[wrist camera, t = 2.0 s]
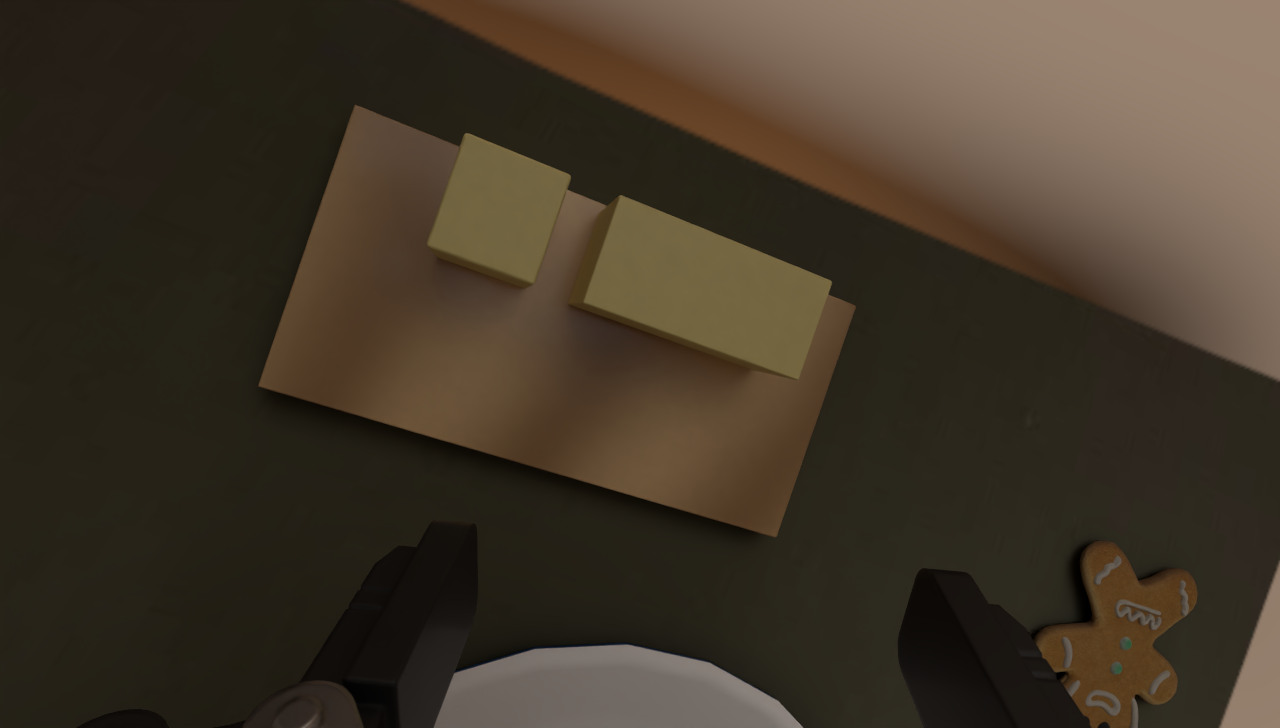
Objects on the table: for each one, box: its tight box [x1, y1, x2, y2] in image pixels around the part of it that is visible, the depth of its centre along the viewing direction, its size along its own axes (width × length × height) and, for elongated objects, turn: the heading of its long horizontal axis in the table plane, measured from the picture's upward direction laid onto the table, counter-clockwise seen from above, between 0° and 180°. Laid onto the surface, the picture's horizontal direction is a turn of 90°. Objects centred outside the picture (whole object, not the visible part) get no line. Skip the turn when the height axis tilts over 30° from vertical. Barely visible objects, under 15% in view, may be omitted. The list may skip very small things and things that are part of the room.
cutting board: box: [258, 105, 856, 537], centre depth 23 cm, size 18×9×1 cm, turn 71°
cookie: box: [1034, 541, 1197, 728], centre depth 29 cm, size 8×1×10 cm
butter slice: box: [427, 133, 571, 288], centre depth 19 cm, size 3×3×4 cm
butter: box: [568, 195, 832, 380], centre depth 21 cm, size 7×3×4 cm, turn 71°
